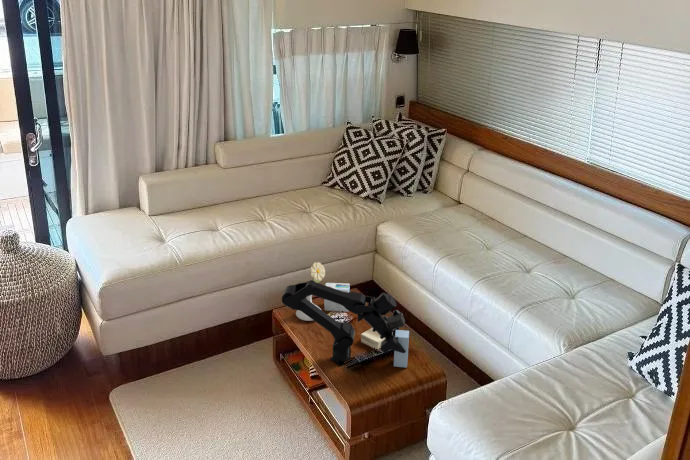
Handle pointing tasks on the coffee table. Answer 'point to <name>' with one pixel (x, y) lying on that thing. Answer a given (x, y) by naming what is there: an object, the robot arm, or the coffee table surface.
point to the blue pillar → (403, 339)
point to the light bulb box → (332, 305)
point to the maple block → (371, 339)
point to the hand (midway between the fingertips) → (405, 348)
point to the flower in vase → (317, 275)
